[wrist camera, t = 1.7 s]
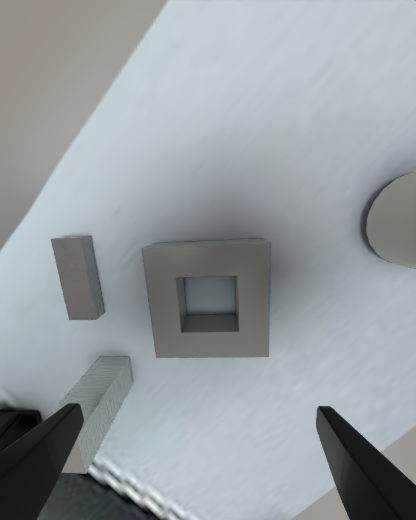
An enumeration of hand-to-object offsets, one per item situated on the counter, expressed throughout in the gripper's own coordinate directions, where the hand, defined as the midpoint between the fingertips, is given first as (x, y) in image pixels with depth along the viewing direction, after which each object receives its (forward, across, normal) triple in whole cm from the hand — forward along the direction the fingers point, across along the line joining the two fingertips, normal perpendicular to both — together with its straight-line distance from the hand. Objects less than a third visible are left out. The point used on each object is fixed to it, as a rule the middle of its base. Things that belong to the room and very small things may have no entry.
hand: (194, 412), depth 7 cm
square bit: (+12, +11, +9) cm, 19 cm away
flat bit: (+12, +12, -2) cm, 18 cm away
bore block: (+12, 0, 0) cm, 12 cm away
